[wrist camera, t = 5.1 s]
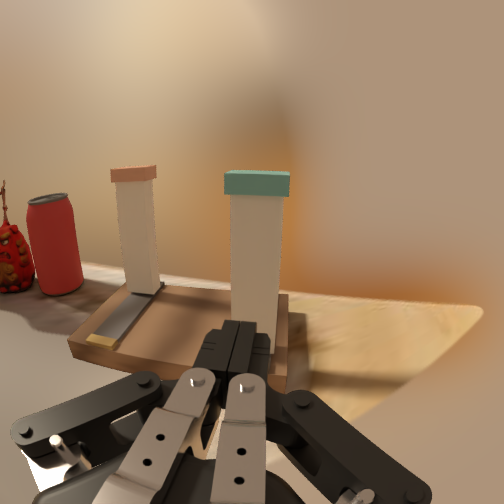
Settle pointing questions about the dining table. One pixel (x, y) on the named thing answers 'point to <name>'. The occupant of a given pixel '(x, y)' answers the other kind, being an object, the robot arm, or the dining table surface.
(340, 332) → the dining table surface
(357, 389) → the dining table surface
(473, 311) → the dining table surface
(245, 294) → the teal slider
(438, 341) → the dining table surface
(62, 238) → the beer can
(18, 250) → the red clay folk toy
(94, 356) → the wooden slider base
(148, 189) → the white tall bar
